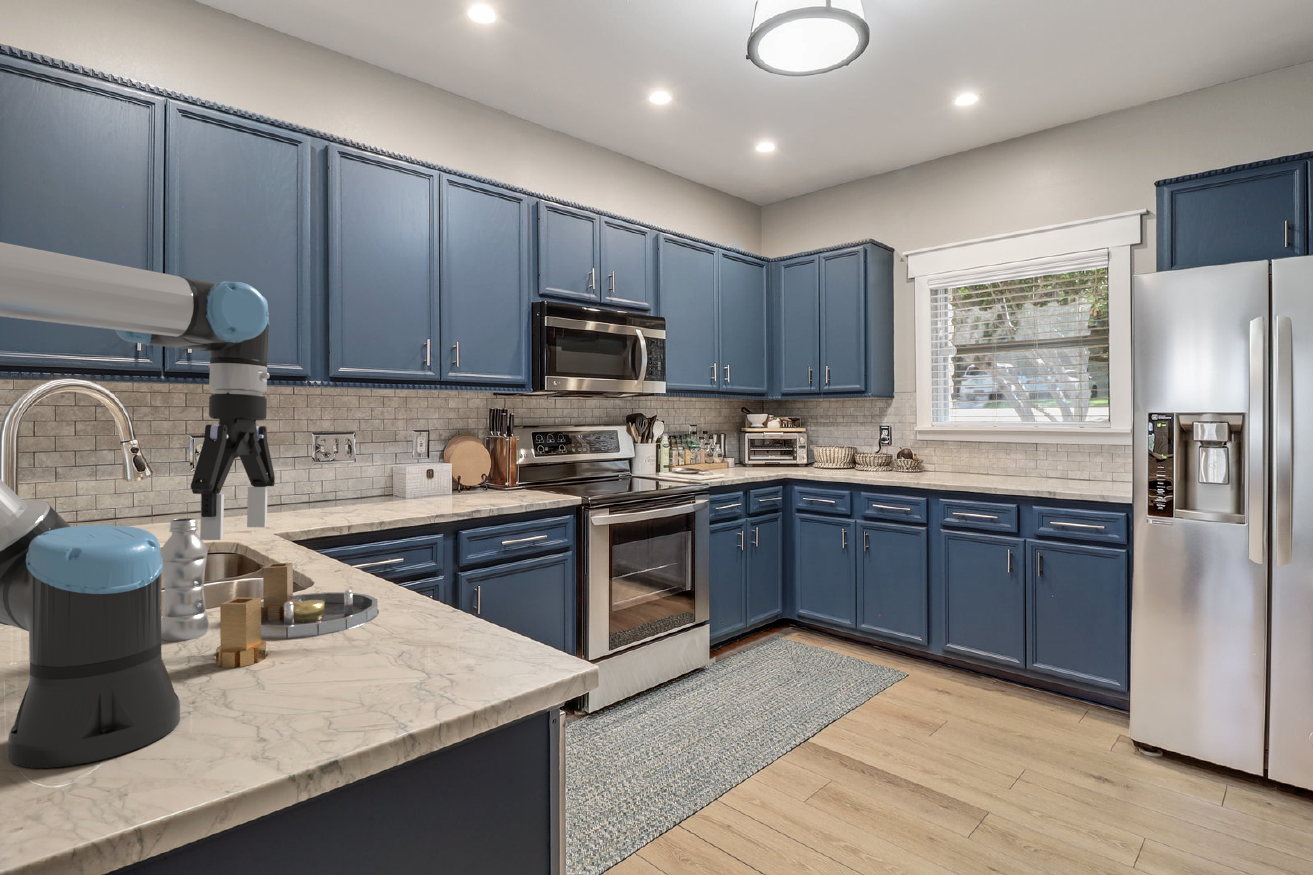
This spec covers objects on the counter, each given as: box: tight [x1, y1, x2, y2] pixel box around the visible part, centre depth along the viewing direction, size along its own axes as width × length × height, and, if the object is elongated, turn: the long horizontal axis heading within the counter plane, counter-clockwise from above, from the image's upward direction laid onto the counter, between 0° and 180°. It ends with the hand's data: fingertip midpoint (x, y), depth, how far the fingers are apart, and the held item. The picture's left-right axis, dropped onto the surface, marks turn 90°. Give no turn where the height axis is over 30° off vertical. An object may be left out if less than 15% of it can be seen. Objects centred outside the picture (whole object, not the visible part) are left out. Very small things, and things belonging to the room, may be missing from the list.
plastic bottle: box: [160, 517, 210, 642], centre depth 111 cm, size 6×7×20 cm
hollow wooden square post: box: [215, 596, 267, 669], centre depth 103 cm, size 6×6×9 cm
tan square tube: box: [261, 562, 299, 620], centre depth 123 cm, size 6×6×9 cm
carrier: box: [261, 589, 380, 640], centre depth 121 cm, size 23×23×6 cm
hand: (235, 533), depth 104 cm, fingers open, 13 cm apart
